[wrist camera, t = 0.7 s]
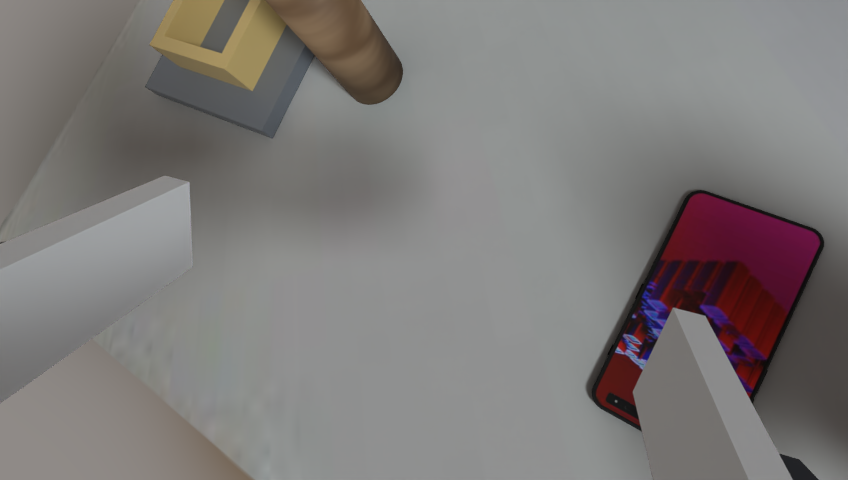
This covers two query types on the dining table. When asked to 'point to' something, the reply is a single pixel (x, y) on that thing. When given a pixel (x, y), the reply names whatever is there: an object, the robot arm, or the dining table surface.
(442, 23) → the dining table surface
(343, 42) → the grey-capped wooden peg
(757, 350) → the smartphone
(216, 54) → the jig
